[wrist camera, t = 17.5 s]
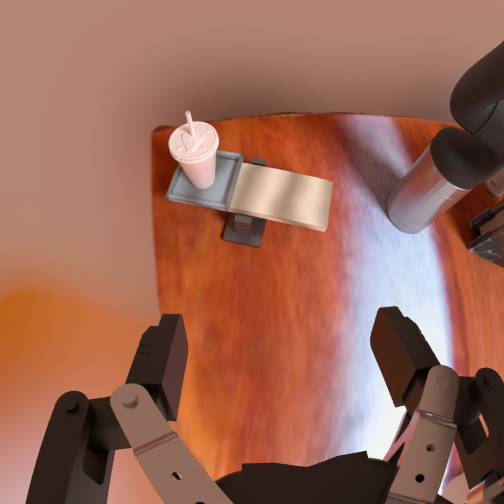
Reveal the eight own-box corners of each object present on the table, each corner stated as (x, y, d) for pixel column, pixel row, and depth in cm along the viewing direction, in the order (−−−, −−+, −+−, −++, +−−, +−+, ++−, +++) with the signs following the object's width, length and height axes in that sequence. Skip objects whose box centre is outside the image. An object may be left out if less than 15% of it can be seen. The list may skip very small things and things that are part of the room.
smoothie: (226, 161, 45) (218, 97, 32) (221, 197, 43) (210, 137, 30) (186, 161, 46) (166, 98, 32) (179, 196, 44) (153, 138, 30)
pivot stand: (276, 175, 52) (279, 155, 47) (259, 248, 48) (261, 234, 42) (243, 168, 53) (242, 148, 47) (223, 240, 49) (219, 226, 43)
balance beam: (331, 182, 46) (335, 173, 44) (323, 236, 44) (328, 229, 41) (187, 155, 48) (184, 145, 45) (168, 204, 45) (163, 196, 42)
